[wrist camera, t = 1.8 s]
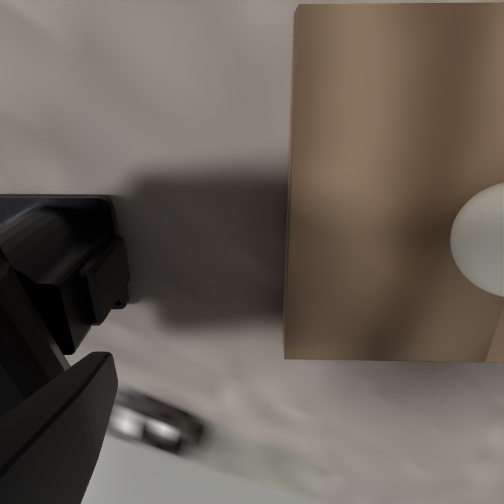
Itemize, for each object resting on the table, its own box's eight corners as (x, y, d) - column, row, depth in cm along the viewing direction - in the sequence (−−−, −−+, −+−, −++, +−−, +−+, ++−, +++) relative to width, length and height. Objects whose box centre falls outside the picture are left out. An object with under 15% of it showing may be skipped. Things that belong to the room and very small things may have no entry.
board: (282, 330, 23) (284, 359, 21) (294, 13, 16) (299, 4, 14) (594, 334, 22) (631, 364, 20) (746, 9, 15) (829, -1, 13)
